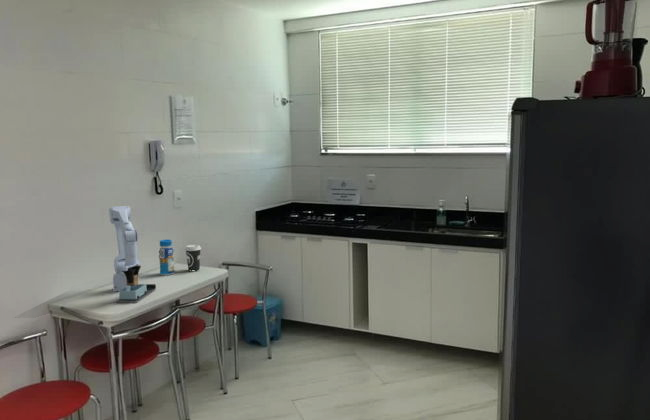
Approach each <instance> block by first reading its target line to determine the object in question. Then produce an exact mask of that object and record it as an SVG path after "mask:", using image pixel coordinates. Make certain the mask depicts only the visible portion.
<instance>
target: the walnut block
mask: <svg viewBox="0 0 650 420" xmlns="http://www.w3.org/2000/svg"><path fill="white" fill-rule="evenodd" d="M138 276H139V274H138V275H134V276H133V283H128V281H127V278H126V281H127V286H135V285H137V284H139V277H138Z"/></svg>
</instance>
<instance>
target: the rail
mask: <svg viewBox="0 0 650 420" xmlns="http://www.w3.org/2000/svg"><path fill="white" fill-rule="evenodd" d="M145 284H146V287H147V293H145V294H143V295H142V296H140V298H137V299H120V298H119V299H117V300H116V303H117V304H122V303H124V304H137V303H139V302H140V301H141V300H143V299H145V298H146V297H148V296H149V295H150V294H152V293H153V292H155V291H156V290H157V286H156V284H155V283H145Z"/></svg>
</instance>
